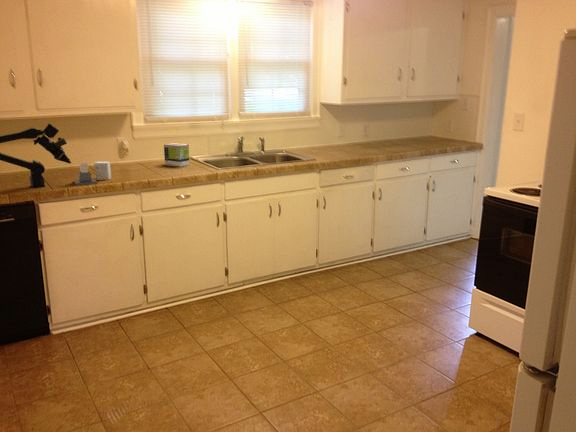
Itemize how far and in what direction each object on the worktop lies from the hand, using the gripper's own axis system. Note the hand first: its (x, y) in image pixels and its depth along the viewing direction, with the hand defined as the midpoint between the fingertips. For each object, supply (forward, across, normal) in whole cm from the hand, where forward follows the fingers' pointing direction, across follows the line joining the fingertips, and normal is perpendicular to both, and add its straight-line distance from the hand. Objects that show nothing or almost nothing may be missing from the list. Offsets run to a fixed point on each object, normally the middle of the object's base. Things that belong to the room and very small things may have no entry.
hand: (70, 161), depth 315 cm
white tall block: (+14, 0, +3) cm, 14 cm away
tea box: (+61, +34, -42) cm, 81 cm away
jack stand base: (+15, 0, +4) cm, 15 cm away
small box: (+23, +6, -4) cm, 24 cm away
